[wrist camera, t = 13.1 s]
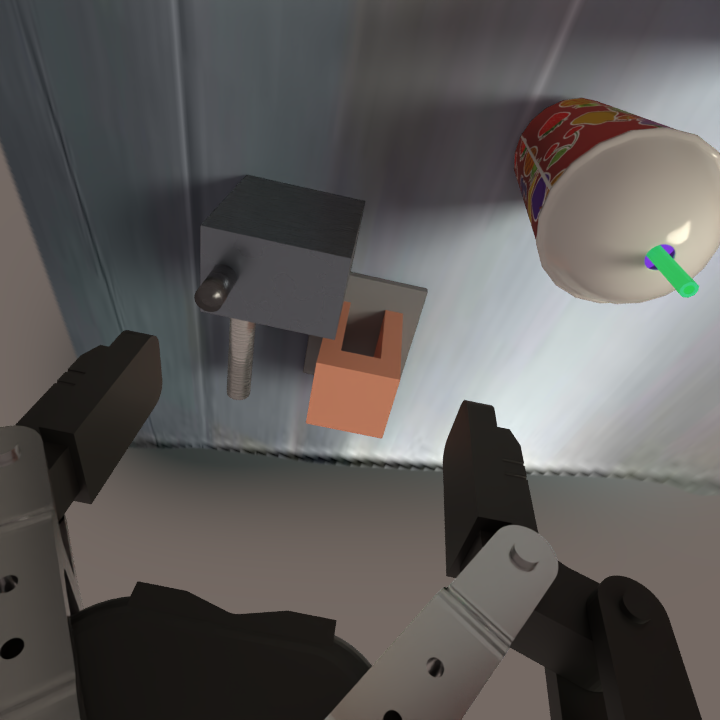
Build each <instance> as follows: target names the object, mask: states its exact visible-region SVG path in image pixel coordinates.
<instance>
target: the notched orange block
mask: <svg viewBox="0 0 720 720" xmlns="http://www.w3.org/2000/svg"><path fill="white" fill-rule="evenodd" d="M350 304H351V303H350V302H346V301H344V303H343V307H342V311H341V316H340V320H339V324H338V329H337V333H336V337H335V340H332V339H327V338H323V340H322V344H321V347H320V351H319V355H318V358H317V362H316V368H315V373H314V379H313V385H312V391H311V397H310V402H309V408H308V414H307V420H306V423H307V424H312V425H317V426H322V427H327V428H332V429H337V430H342V431H347V432H352V433H357V434H362V435H367V436H372V437H377V438H382V437H383V434H384V431H385V427H386V424H387V421H388V418H389V414H390V411H391V408H392V405H393V401H394V398H395V395H396V392H397V389H398V385H399V382H400V372H401V348H402V324H403V314H402V313H398V312H393V311H388V310H385V314H384V318H383V322H382V326H381V330H380V334H379V338H378V341H377V345H376V349H375V353H374V357H370V356H365V355H360V354H355V353H351V352H346V351H341V348H342V343H343V338H344V333H345V329H346V324H347V319H348V314H349V309H350Z"/></svg>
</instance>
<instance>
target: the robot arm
mask: <svg viewBox="0 0 720 720" xmlns="http://www.w3.org/2000/svg"><path fill="white" fill-rule="evenodd" d="M161 390H162V372H161V360H160V349H159V341H158V338H157V337H156V336H153V335H148V334H144V333H139V332H134V331H129V330H125V331H123V332H122V333H121V334H120V335H119V336H118V337H117V338H116V340H115V341H114V342H113V343H112V344H111V345H110V346H109V347H108V346H103V345H100V346H98V347H96V348H94V349H92V350H90V351H88V352H86V353H85V354H83V355H81V356H80V357H79V358H78V359H77V360H76V361H75V362H74V363H73V364H72V365H71V366H70V368H69V369H68V372H65V373H64V374H63V375H62V376H61V377H60V378H59V379H58V380H57V383H55V384H53V386H52V387H51V388H50V389H49V390H48V391H47V392H46V393H45V394H44V395H43V396H42V397H41V398H40V399H39V401H37V403H36V404H35V405H34V406H33V407H32V408H31V409H30V410H29V411H28V412H27V413H26V414H25V416H23V417H22V418H21V420H20V421H19V422H18V423H17V424H16V425H14V426H5V427H0V720H462V718H463V717H464V715H465V714H466V712H467V711H468V709H469V708H470V706H471V705H472V703H473V702H474V701H475V699H476V698H477V696H478V695H479V693H480V692H481V690H482V689H483V687H484V685H485V684H486V683H487V681H488V679H489V678H490V677H491V675H492V674H493V672H494V671H495V669H496V668H497V666H498V665H499V663H500V662H501V660H502V659H503V657H504V656H505V654H506V653H507V651H508V650H509V648H512V649H514V650H516V651H517V652H519V653H521V654H523V655H525V656H526V657H528V658H530V659H532V660H534V661H535V662H537V663H539V664H541V665H543V666H544V667H545V674H546V682H547V690H548V699H549V706H550V716H551V720H702V718H701V715H700V712H699V709H698V706H697V703H696V700H695V697H694V694H693V691H692V688H691V685H690V681H689V678H688V675H687V672H686V670H685V666H684V663H683V660H682V657H681V654H680V651H679V648H678V645H677V642H676V639H675V636H674V633H673V630H672V627H671V623H670V620H669V618H668V615H667V613H666V611H665V609H664V607H663V605H662V604H661V603H660V602H659V600H658V599H657V598H656V597H655V595H654V594H653V593H652V592H651V591H650V590H648V589H647V588H646V587H645V586H643V585H642V584H640V583H638V582H637V581H635V580H633V579H630V578H627V577H624V576H610V577H608V578H606V579H604V580H603V581H602V582H601V583H600V584H599V583H598V582H596V581H594V580H592V579H590V578H588V577H586V576H584V575H582V574H579V573H578V572H576V571H574V570H572V569H570V568H568V567H566V566H565V565H563V564H562V563H561V562H559V561H558V560H557V557H556V555H555V552H554V550H553V549H552V547H551V546H550V544H549V543H548V542H547V541H546V540H545V539H544V538H543V537H542V536H541V535H539V534H538V530H537V525H536V520H535V515H534V510H533V505H532V500H531V495H530V490H529V485H528V480H526V477H527V476H526V471H525V466H523V464H524V461H523V456H522V451H521V446H520V444H519V443H518V441H517V440H516V438H515V437H514V435H513V434H512V432H511V431H510V429H505V428H500V427H497V422H496V416H495V410H494V407H493V406H491V405H486V404H482V403H477V402H472V401H467V400H464V401H463V402H462V404H461V406H460V409H459V411H458V414H457V416H456V418H455V421H454V423H453V426H452V428H451V431H450V433H449V436H448V438H447V441H446V445H445V449H444V455H443V480H444V481H443V483H444V512H445V513H444V514H445V545H446V576H448V577H453V578H456V579H455V580H454V581H453V582H452V583H451V584H450V586H448V587H447V588H445V587H444V588H442V589H441V590H440V591H439V592H438V593H437V594H436V595H435V596H434V597H433V599H432V600H431V601H430V602H429V603H428V604H427V605H426V606H425V607H424V609H423V610H422V611H421V612H420V613H419V614H418V616H416V618H415V619H414V620H413V621H412V622H411V623H410V624H409V625H408V627H407V628H406V629H405V630H404V631H403V632H402V633H401V634H400V635H399V637H398V638H397V639H396V640H395V641H394V642H393V643H392V644H391V646H390V647H389V648H388V649H387V650H386V651H385V652H384V653H383V655H382V656H381V657H380V658H379V659H378V660H377V661H376V662H375V664H374V665H373V666H372V665H371V664H370V663H369V662H368V660H367V659H366V658H365V657H364V656H363V655H362V654H361V653H360V652H359V651H358V650H356V649H355V648H354V647H353V646H352V645H350V644H349V643H347V642H346V641H344V640H343V639H341V638H339V637H337V636H335V635H334V633H335V626H336V620H332V619H327V618H322V617H317V616H312V615H307V614H302V613H297V612H291V611H278V612H264V613H249V614H232V613H229V612H227V611H225V610H223V609H221V608H219V607H217V606H215V605H213V604H211V603H209V602H207V601H205V600H203V599H201V598H199V597H197V596H196V595H194V594H192V593H190V592H188V591H184V590H179V589H174V588H169V587H164V586H159V585H154V584H149V583H143V582H137V584H136V586H135V588H134V590H133V592H132V594H131V596H130V597H121V598H117V599H111V600H108V601H104V602H101V603H98V604H95V605H93V606H90V607H88V608H85V609H84V607H83V603H82V599H81V596H80V591H79V586H78V581H77V576H76V570H75V565H74V560H73V553H72V548H71V543H70V537H69V531H68V525H67V520H66V516H65V512H66V511H67V509H68V508H69V506H70V505H71V503H72V502H73V501H78V502H83V503H88V504H92V502H93V501H94V499H95V498H96V496H97V495H98V493H99V492H100V490H101V489H102V487H103V486H104V484H105V483H106V481H107V479H108V478H109V476H110V475H111V473H112V472H113V470H114V468H115V467H116V466H117V464H118V463H119V461H120V459H121V458H122V456H123V455H124V453H125V452H126V450H127V449H128V447H129V446H130V444H131V443H132V441H133V440H134V438H135V436H136V435H137V433H138V432H139V430H140V429H141V427H142V426H143V424H144V423H145V421H146V420H147V418H148V416H149V415H150V413H151V412H152V410H153V409H154V407H155V406H156V404H157V402H158V400H159V397H160V394H161Z"/></svg>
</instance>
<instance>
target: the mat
mask: <svg viewBox="0 0 720 720" xmlns="http://www.w3.org/2000/svg"><path fill="white" fill-rule="evenodd" d="M427 293H428V291H427V289H426V288H421V287H417V286H412V285H408V284H403V283H399V282H394V281H389V280H385V279H380V278H376V277H371V276H367V275H362V274H357V273H353V272H351V273H350V277H349V281H348V286H347V290H346V294H345V299H344V301H346V302H350V303H351V304H350V309H349V314H348V319H347V324H346V329H345V333H344V338H343V343H342V348H341V351H346V352H351V353H355V354H360V355H365V356H370V357H374V353H375V349H376V345H377V341H378V338H379V334H380V330H381V326H382V322H383V318H384V314H385V310H388V311H393V312H398V313H402V314H403V324H402V348H401V372H400V378H401V375H402V372H403V368H404V365H405V362H406V359H407V356H408V353H409V349H410V346H411V343H412V340H413V337H414V334H415V331H416V327H417V324H418V321H419V318H420V315H421V312H422V308H423V305H424V302H425V299H426V296H427ZM322 340H323V337H318V336H313V335H309V338H308V344H307V351H306V357H305V363H304V369H303V373H308V374H313V375H314V373H315V368H316V362H317V358H318V355H319V351H320V347H321V344H322Z"/></svg>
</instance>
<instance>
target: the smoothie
mask: <svg viewBox="0 0 720 720" xmlns="http://www.w3.org/2000/svg"><path fill="white" fill-rule="evenodd" d="M514 171H515V174H516V177H517V181H518V184H519V187H520V190H521V193H522V196H523V200H524V203H525V206H526V209H527V213H528V216H529V219H530V222H531V226H532V229H533V232H534V235H535V239H536V245H537V249H538V253H539V257H540V261H541V265H542V267H543V269H544V270H545V271H546V273H547V274H548V275H549V277H550V278H551V279H552V281H553V282H554V283H555V285H556V286H558V287H560V288H561V289H563V290H564V291H566V292H568V293H569V294H571V295H572V296H574V297H575V298H580V299H584V300H588V301H593V302H597V303H613V304H626V303H641V302H645V301H649V300H652V299H656V298H659V297H662V296H665V295H667V294H669V293H671V292H673V291H675V290H677V292H678V293H679V294H680V295H681V296H682V297H687V298H688V297H691V296H693V295H695V294H696V293H697V291H698V288H699V286H698V285H697V283H696V282H695V281H694V280H693V278H694V277H695V276H696V275H697V274H698V273H699V272H700V271H702V270H703V269H704V268H705V266H706V265H707V263H708V262H709V260H710V259H711V258H712V256H713V255H714V253H715V252H716V250H717V249H718V247H719V245H720V153H719V152H718V151H717V150H716V149H714V148H713V147H712V146H711V145H709V144H708V143H707V142H705V141H704V140H703V139H702V138H700V137H699V136H698V135H695V134H691V133H687V132H683V131H679V130H676V129H673V128H670V127H668V126H665V125H662V124H659V123H656V122H654V121H651V120H648V119H645V118H642V117H640V116H637V115H634V114H631V113H628V112H626V111H623V110H620V109H617V108H614V107H612V106H609V105H606V104H603V103H600V102H598V101H594V100H589V99H585V98H576V99H569V100H563V101H561V102H558V103H556V104H554V105H552V106H550V107H548V108H546V109H544V110H543V111H542V112H541V113H540V114H539V115H537V116H536V117H535V118H534V119H533V120H532V121H531V122H530V123H529V125H528V126H527V128H526V129H525V131H524V132H523V133H522V135H521V136H520V139H519V142H518V145H517V148H516V151H515V159H514Z"/></svg>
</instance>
